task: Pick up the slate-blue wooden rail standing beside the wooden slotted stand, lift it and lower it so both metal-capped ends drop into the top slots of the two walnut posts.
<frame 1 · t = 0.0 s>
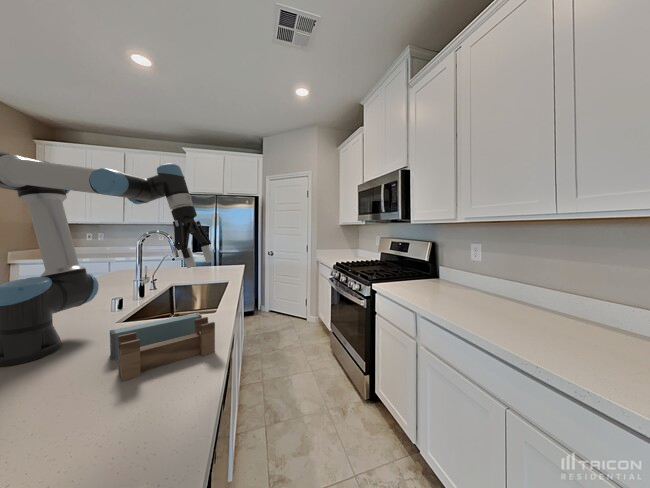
hand: (201, 264, 91), 28 cm above the counter, tool tilted 20°, fingers open, 13 cm apart
rail: (160, 344, 87), on the counter
wooden slotted stand: (170, 360, 77), on the counter
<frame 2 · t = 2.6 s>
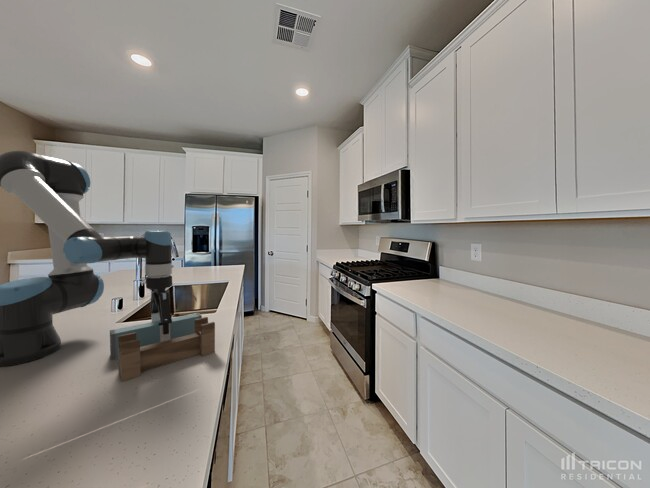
hand: (160, 336, 87), 3 cm above the counter, tool pointing down, fingers open, 13 cm apart
nothing on the counter moved.
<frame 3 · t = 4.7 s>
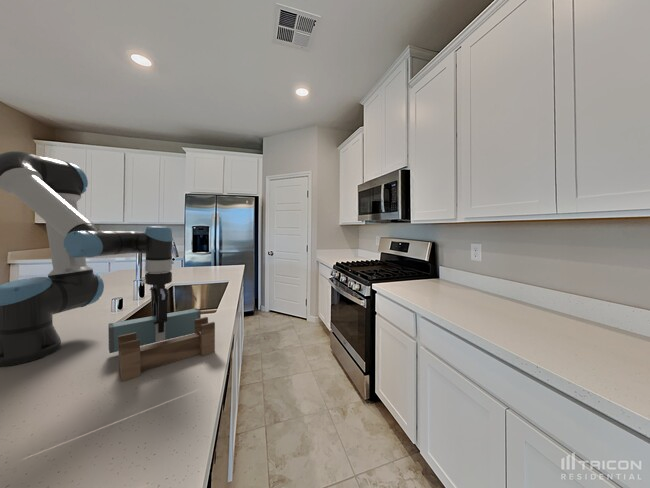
hand: (158, 338, 87), 2 cm above the counter, tool pointing down, fingers closed on rail, 4 cm apart
rail: (158, 339, 87), point 2 cm above the counter, touching gripper
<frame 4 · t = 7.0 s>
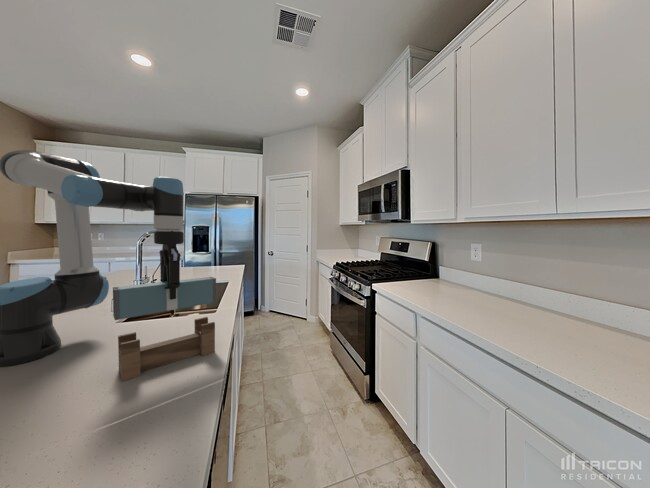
hand: (170, 307, 76), 17 cm above the counter, tool pointing down, fingers closed on rail, 4 cm apart
rail: (169, 308, 76), point 16 cm above the counter, touching gripper
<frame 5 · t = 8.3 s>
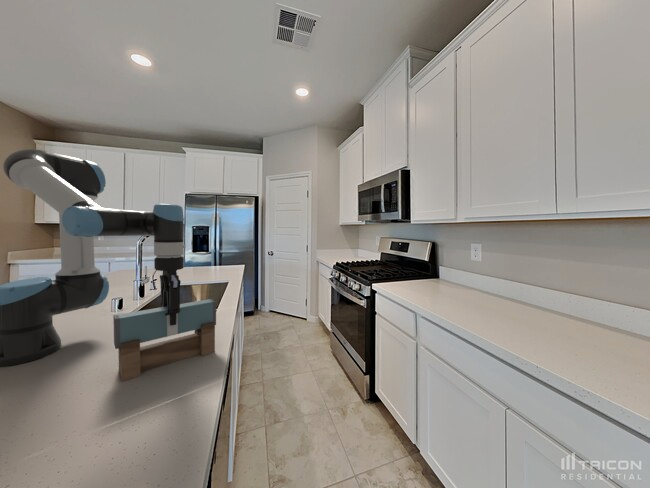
hand: (170, 332, 77), 9 cm above the counter, tool pointing down, fingers closed on rail, 4 cm apart
rail: (170, 333, 77), point 9 cm above the counter, touching gripper
when the fingers open (8 cm above the counter, at t = 9.4 s): rail stays where it is, resting on wooden slotted stand.
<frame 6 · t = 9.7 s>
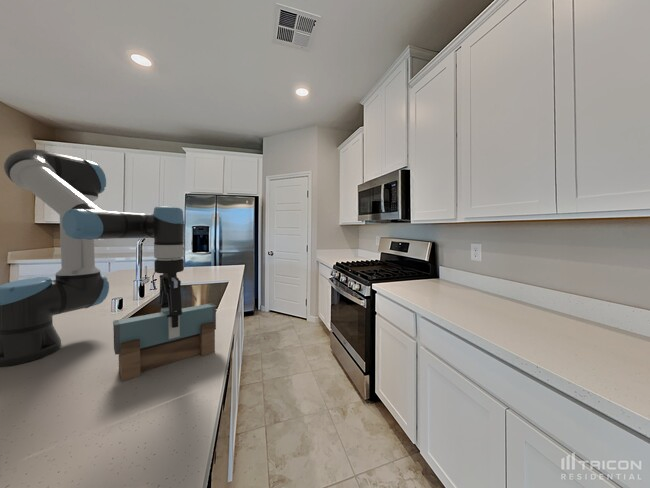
hand: (170, 332, 77), 9 cm above the counter, tool pointing down, fingers open, 8 cm apart
rail: (169, 338, 77), point 7 cm above the counter, touching wooden slotted stand
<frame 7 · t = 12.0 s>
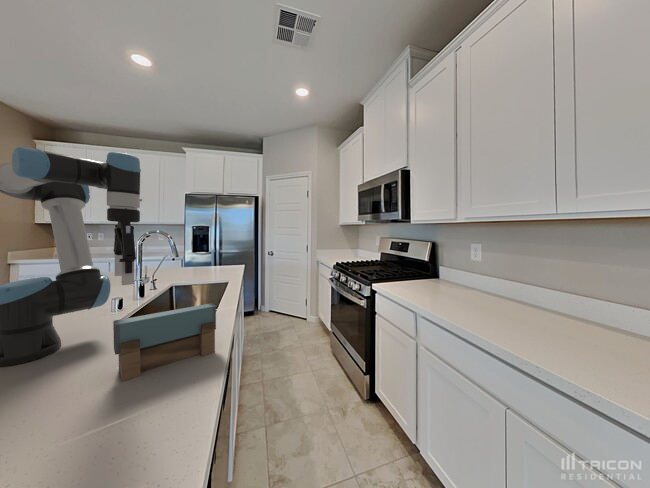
hand: (123, 279, 75), 25 cm above the counter, tool pointing down, fingers open, 13 cm apart
nothing on the counter moved.
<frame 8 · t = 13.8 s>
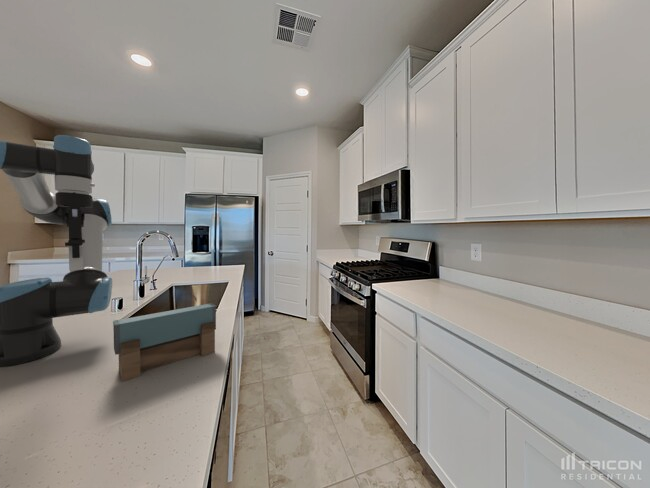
hand: (76, 266, 73), 29 cm above the counter, tool pointing down, fingers open, 13 cm apart
nothing on the counter moved.
at the end: rail 0.1 cm off-centre on the wooden slotted stand, point 7.0 cm above the wooden slotted stand's base; rail tilted 0°; the gripper is holding nothing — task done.
